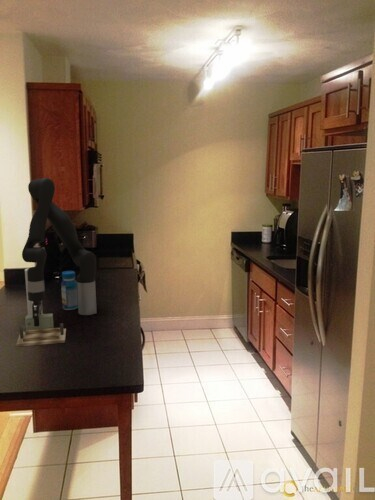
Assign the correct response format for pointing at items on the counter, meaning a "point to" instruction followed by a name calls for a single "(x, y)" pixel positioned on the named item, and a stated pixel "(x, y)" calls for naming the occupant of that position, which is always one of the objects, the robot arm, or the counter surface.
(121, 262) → the counter surface
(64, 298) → the blue pill bottle
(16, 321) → the counter surface
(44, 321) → the rectangular block
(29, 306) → the cylindrical container
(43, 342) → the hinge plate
